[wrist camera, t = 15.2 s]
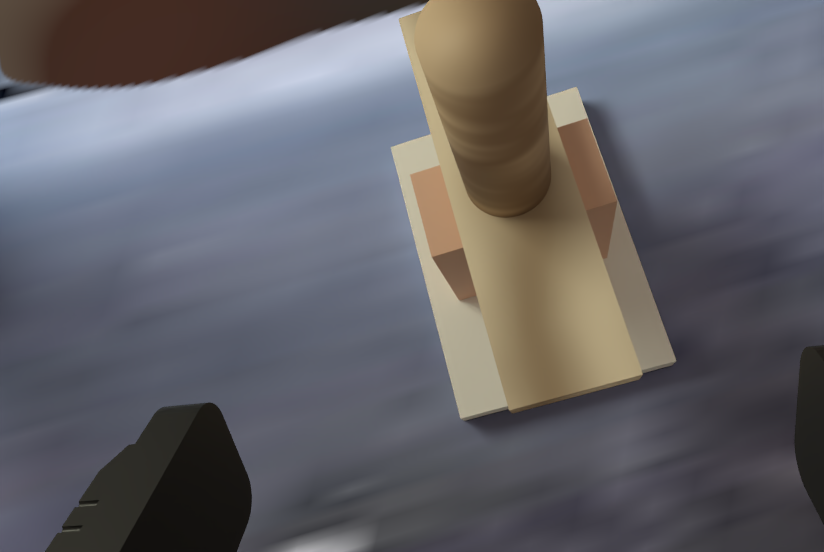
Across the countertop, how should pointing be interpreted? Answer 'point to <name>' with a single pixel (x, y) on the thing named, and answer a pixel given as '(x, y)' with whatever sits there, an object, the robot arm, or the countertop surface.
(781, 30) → the countertop surface
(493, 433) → the countertop surface
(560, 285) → the bar
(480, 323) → the stand
